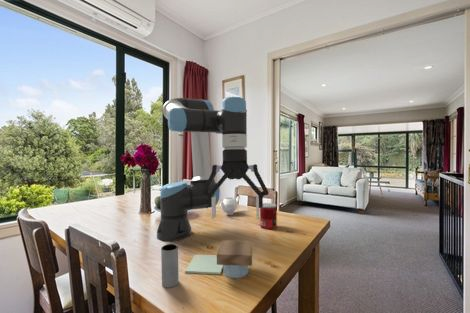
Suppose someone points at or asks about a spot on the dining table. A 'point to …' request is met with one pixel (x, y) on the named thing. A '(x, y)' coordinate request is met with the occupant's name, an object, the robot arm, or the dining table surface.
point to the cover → (235, 253)
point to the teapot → (230, 205)
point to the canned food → (268, 216)
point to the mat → (204, 265)
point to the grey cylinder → (169, 265)
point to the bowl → (235, 271)
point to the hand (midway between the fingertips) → (235, 217)
